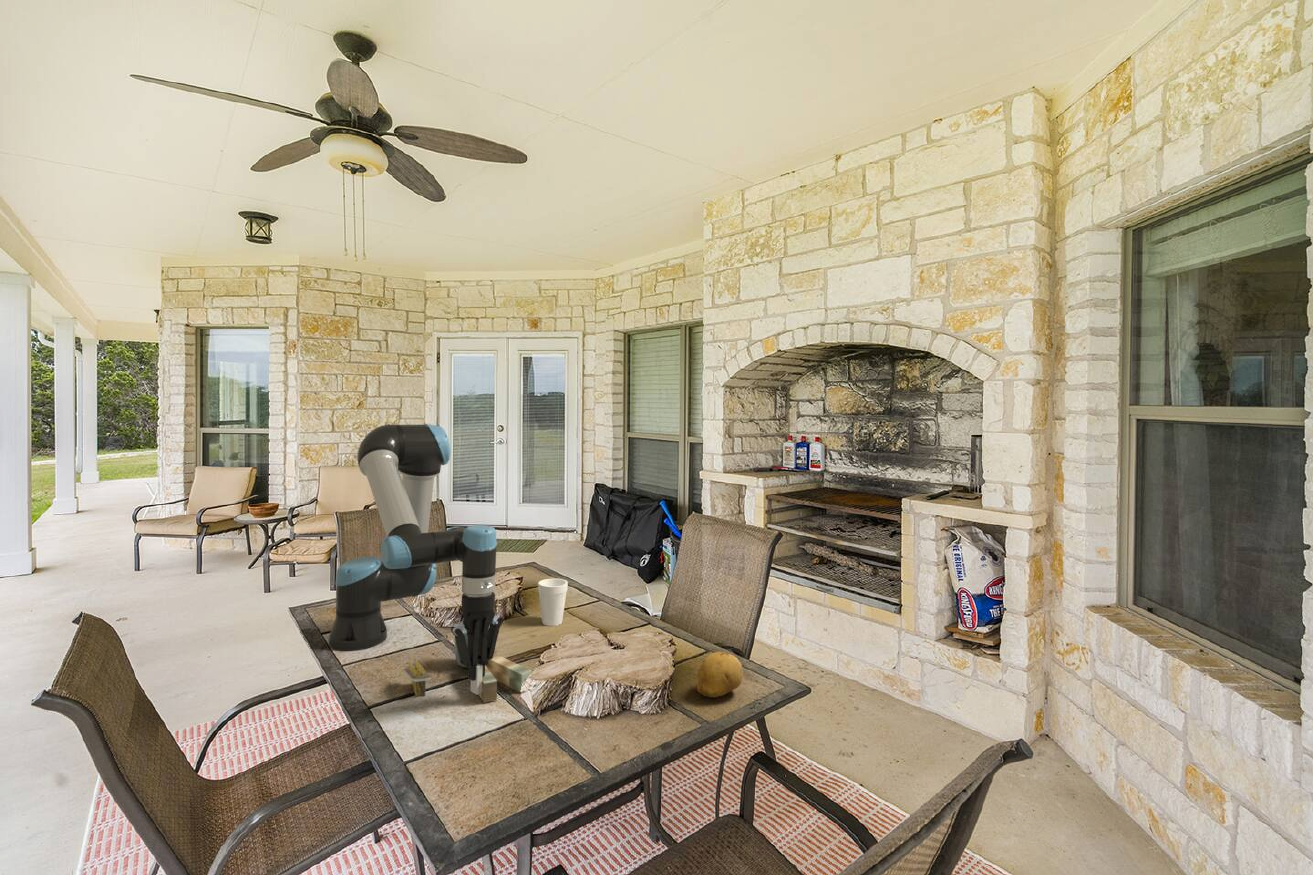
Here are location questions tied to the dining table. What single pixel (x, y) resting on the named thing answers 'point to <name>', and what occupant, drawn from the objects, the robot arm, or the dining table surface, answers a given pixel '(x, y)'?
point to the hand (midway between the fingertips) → (476, 691)
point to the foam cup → (552, 600)
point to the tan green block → (508, 672)
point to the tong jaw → (488, 687)
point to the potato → (719, 674)
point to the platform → (417, 677)
